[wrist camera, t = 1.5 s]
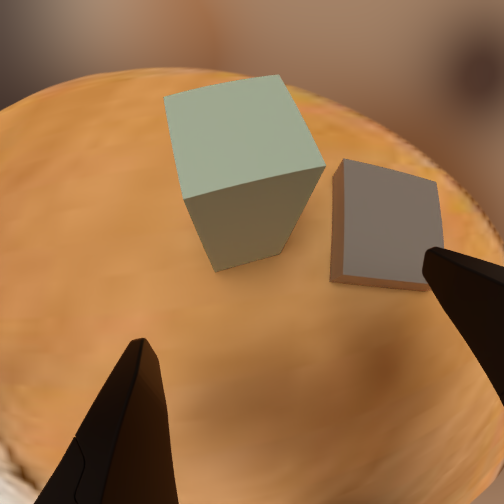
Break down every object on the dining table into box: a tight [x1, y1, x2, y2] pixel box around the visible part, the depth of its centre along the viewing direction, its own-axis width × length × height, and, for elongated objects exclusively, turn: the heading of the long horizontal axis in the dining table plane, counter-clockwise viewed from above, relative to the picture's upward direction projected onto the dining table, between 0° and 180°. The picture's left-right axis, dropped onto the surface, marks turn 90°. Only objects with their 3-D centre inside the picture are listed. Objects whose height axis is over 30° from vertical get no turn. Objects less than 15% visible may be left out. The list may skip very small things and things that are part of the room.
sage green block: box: [163, 75, 326, 272], centre depth 16 cm, size 5×5×12 cm
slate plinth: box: [330, 159, 444, 291], centre depth 21 cm, size 9×9×3 cm
